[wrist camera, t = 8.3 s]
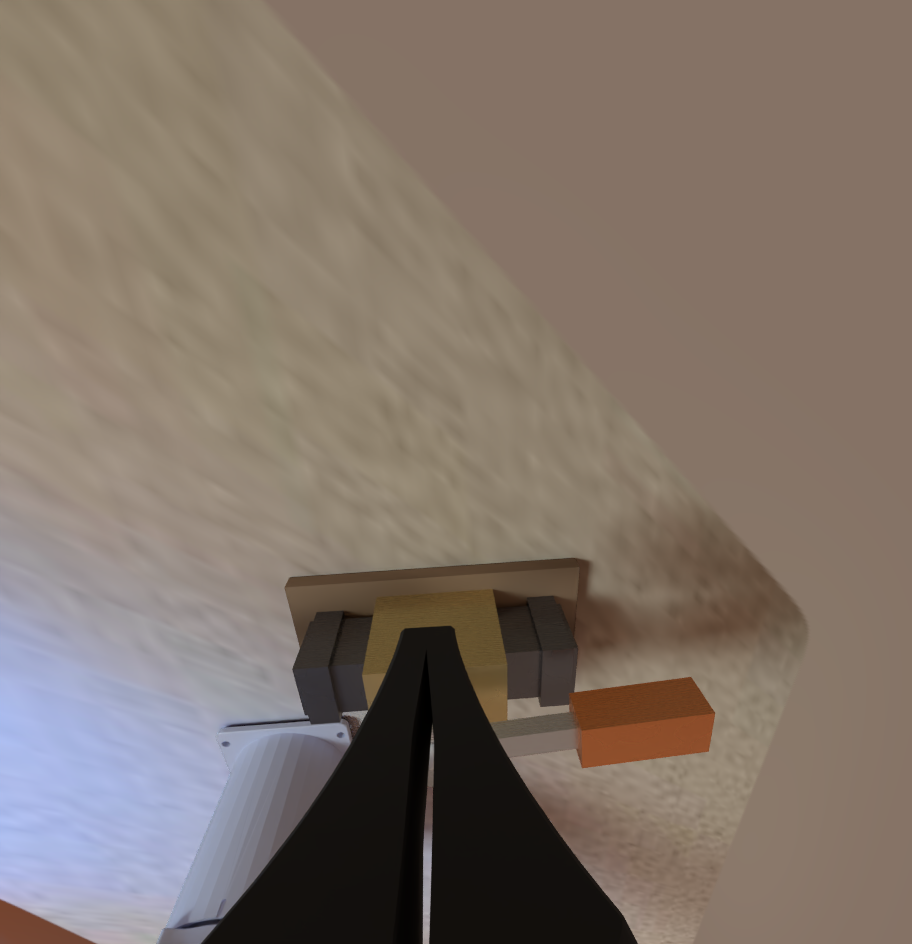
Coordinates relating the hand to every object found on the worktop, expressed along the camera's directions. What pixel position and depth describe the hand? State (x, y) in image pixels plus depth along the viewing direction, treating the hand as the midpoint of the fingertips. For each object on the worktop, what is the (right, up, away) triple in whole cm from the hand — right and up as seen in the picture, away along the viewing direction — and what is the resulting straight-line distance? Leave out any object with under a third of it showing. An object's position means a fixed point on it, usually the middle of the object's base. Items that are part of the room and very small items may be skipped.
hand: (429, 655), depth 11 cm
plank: (0, -3, +12) cm, 13 cm away
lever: (+5, -5, +6) cm, 9 cm away
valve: (0, -3, +12) cm, 13 cm away
